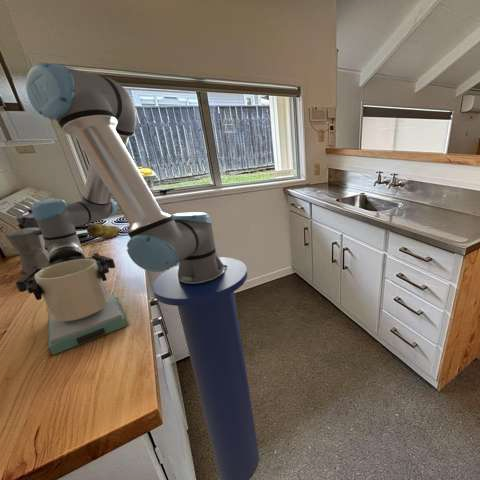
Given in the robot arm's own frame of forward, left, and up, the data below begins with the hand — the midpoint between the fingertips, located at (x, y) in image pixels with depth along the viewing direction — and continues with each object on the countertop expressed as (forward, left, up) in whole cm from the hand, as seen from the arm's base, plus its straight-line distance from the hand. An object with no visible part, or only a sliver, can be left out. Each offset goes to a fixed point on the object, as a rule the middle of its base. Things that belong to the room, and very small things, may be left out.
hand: (72, 284), depth 61 cm
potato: (-14, -87, -13) cm, 89 cm away
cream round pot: (0, -4, -9) cm, 10 cm away
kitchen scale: (0, -4, -13) cm, 14 cm away
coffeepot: (+9, -61, -13) cm, 63 cm away
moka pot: (+8, -79, -13) cm, 80 cm away
